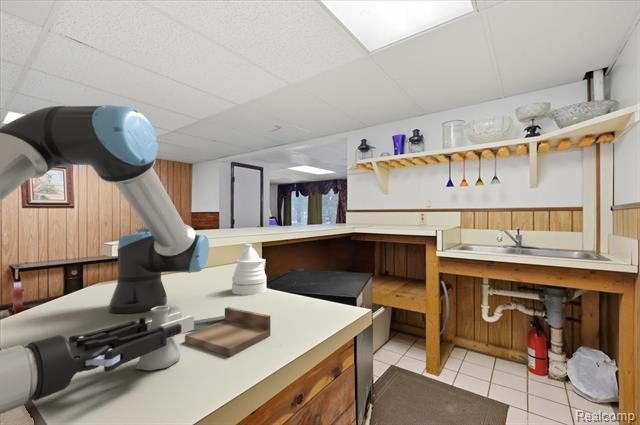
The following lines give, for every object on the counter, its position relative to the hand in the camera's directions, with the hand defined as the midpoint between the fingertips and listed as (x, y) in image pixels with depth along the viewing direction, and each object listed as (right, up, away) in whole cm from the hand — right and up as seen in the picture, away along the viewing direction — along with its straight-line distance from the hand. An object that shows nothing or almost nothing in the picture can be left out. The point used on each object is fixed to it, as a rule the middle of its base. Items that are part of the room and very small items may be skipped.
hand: (186, 320), depth 58 cm
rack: (+7, -6, +6) cm, 11 cm away
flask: (-3, -6, -5) cm, 8 cm away
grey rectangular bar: (-2, -7, +13) cm, 15 cm away
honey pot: (0, -8, +52) cm, 52 cm away
